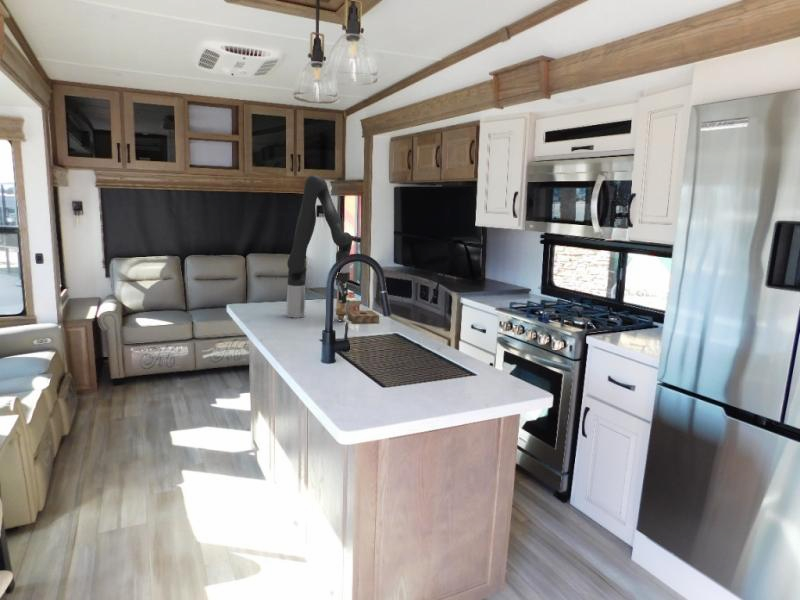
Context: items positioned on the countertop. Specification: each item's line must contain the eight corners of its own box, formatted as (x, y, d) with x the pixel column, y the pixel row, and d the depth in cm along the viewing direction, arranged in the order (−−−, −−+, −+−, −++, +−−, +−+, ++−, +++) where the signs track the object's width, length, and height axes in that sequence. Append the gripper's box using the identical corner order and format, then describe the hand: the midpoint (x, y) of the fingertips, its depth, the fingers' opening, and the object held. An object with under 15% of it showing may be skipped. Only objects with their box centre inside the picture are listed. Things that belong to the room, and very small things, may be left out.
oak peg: (336, 322, 285) (337, 303, 284) (334, 319, 290) (335, 301, 289) (346, 321, 287) (347, 303, 285) (344, 319, 292) (345, 301, 290)
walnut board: (352, 323, 284) (353, 316, 283) (347, 318, 297) (347, 310, 296) (378, 323, 288) (379, 315, 287) (372, 317, 301) (372, 310, 300)
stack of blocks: (359, 316, 302) (360, 294, 300) (349, 317, 300) (349, 295, 298) (346, 309, 321) (347, 288, 319) (336, 309, 319) (336, 288, 316)
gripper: (332, 269, 290) (332, 299, 293) (338, 272, 277) (338, 304, 279) (346, 269, 292) (346, 299, 295) (352, 272, 279) (352, 304, 282)
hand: (342, 301), depth 287 cm, fingers open, 8 cm apart
